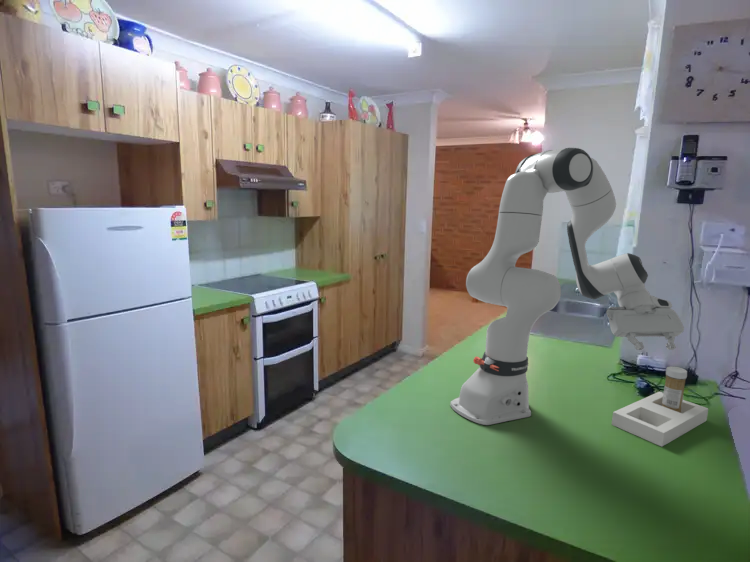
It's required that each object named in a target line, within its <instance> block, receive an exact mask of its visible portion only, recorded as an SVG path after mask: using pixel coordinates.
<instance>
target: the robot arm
mask: <svg viewBox="0 0 750 562" xmlns="http://www.w3.org/2000/svg"><path fill="white" fill-rule="evenodd" d="M559 192H560V193H561V192H564V193H565V195H566V197H567V200H568V203H569V204H570V207H571V218H570V220H569V221H568V222H567V224H566V232H567V238H568V244H569V248H570V252H571V253H570V254H571V257H572V261H573V265H574V270H575V283H576V285H577V286H576V287H577V289H578V291H579V293H580V294H581V295H582V296H583V297H585V298H587V299H590V300H598V299H600V298H602V297H604V296H606V295H608V294H612V293H614V295H615V296H616V298H617V304H618V306H610V307H608V308H607V309H606V311H605V314H606V316H607V318H608V322H609V327H610V330H611V333H612V334H613V336H615V337H617V338H620V337H622V338H623V337H626V339H627V341H628V342H629V343H630V344H631V345H633V346H634V349H635V350H637V351H642V350H643V349H644V348H645V346H644V344H643V341H639V340H638V338H640V337H641V338H643V337H644V338H645V337H647V338H648V337H652V338H653V337H659V338H660V337H664V339H665V340H666V341H667V343H665V344H664V345H665V348H666V350H669V351H670V350H671V351H673V350H675V349H676V348H677V345H676V343H675V338H676V337H678V336H680V335H682V333H683V332H684V330H685V326H684V325H683V321H682V320H681V318H680V317H679V315H678V313H677V312H676V311H675V310H674V309H672V307H673V303H672V302H671V301H670V300H667V299H663V298H660V297H657V296H654V295H651V294H650V292H649V291H648V289H647V288H646V286H645V284H646V281H647V279H648V277H649V274H648V272H647V271H646V269H645V267H644V266H643V261H642V260H641V258H640V257H639V256H638V255H635V254H633V253H629V252H627V253H622V254H620V255H618V256H617V255H616V256H614V257H612V258H610V259H609V258H608V259H606V260H604V261H601V262H598V263H595V264H589V260H588V259H589V258H588V255H587V250H586V243H587V241H588V240H589V239H590V237H591V236H592V235H593V234H594V233H596V232H597V231H598V230H599V229H601V228H602V227H603V226H604V225H606V224H607V222H609V220H610V219H611V218H612V217H613V216H614V213H615V211H616V208H617V201H616V200H617V199H616V198H615V194H614V190H613V188H612V186H611V184H610V181H609V179H608V177H607V175H606V174H605V171H604V170H603V169H602V168H601V166H600V164H599V163H598V161H597V160H596V159H594V158H592V157H591V156H590V155H589V154H588V152H587V151H585V150H584V149H582V148H579V147H567V148H566V147H565V148H563V149H562V148H561V149H549V150H544V151H542V152H538V153H535V154H530V155H528V156H526V157H525V158H523V159H522V160H521V161H520V162H519V164H518V165H517V167H516V169H515V172H514V173H513V174H510V176H508V178H507V179H506V180H505V183H504V187H503V191H502V194H501V198H500V202H499V208H498V216H497V223H496V228H495V235H494V239H493V242H492V246H491V247H490V250H489V251H488V252H487V254H486V256H484V258H483V259H482V260H481V261H479V263H477V264H476V265H474V266H473V267H471V268H470V269H469V271H468V273H467V275H466V279H465V288H466V290H467V293H468V295H469V296H470V297H472V298H473V299H476V300H478V301H481V302H483V303H485V304H491V305H497V306H500V307H506V308H507V309H506V310H507V311H506V315H505V317H501V318H498V319H495V320H494V321H492V322H490V323H489V325H488V326H487V329H486V337H485V351H484V353H483V354H482V357H481V358H480V357H479V356H475V357H474V358H473V363H474V364H475V365H478V366H479V367H478V368H477V369H476V371H474V373H472V375H470V377H469V378H467V380H465V382H463V384H462V385H461V388H460V390H459V391H460V392H459V396H458V397H456V398H454V399H452V400H451V401H450V402H449V403H450V407H451V408H452V410H453V411H455V413H457V414H459V415H460V416H462V417H463V418H465V419H468V420H469V421H471V422H474V423H476V424H479V425H484V426H490V425H494V424H495V425H496V424H499V423H504V422H508V421H509V422H510V421H514V420H519V419H524V418H529V417H532V411H531V409H530V403H529V398H530V397H529V383H528V379H527V372H528V367H529V358H528V347H529V341H530V335H531V331H532V329H533V327H534V325H535V323H536V322H537V320H538V319H539V318H541V317H542V316H543V315H545V314H546V313H548V312H550V311H552V310H553V309H554V308H555V307H556V306H557V304H558V303H559V302H560V299H561V295H562V287H561V283H560V281H559V279H558V277H556V276H555V275H554V274H551V273H548V272H546V271H542V270H540V269H536V268H535V269H534V268H525V267H519V266H516V264H517V261H518V259H519V258H520V257H521V256H522V255H524V254H526V253H527V254H528V253H529V252H531V251H533V250H535V248H537V246H538V244H539V242H540V235H541V230H542V229H541V227H542V220H543V214H544V212H543V211H544V200H545V198H546V196H547V194H548V193H550V194H553V193H559ZM636 337H637V338H636Z"/></svg>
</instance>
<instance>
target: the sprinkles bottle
mask: <svg viewBox="0 0 750 562" xmlns="http://www.w3.org/2000/svg"><path fill="white" fill-rule="evenodd" d="M687 377H688V371H687V370H686V369H685V368H682V367H678V366H672V365H671V366H667V367H666V370H665V382H664V388H663V393H664V394H663V401H662V406H663V407H666V408H669V409H671V410H674V411H677V412H680V413H681V407H682V402H683V400H684V390H685V385H686V379H687Z"/></svg>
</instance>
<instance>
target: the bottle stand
mask: <svg viewBox="0 0 750 562" xmlns="http://www.w3.org/2000/svg"><path fill="white" fill-rule="evenodd" d="M663 394H664V392H662V391H657V392H655V393H653V394H651V395H649V396H646V397H643V398H642V399H639V400H637V401H634V402H632V403H631V404H628V405H626V406H624V407H621V408H619V409H617V410H614V411H613V412H612V419H611V423H610V424H611V425H612V426H614V427H616V428H618V429H620V430H623V431H624V432H625V431H626V432H627V433H630V434H632V435H634V436H637V437H639V438H641V439H643V440H646V441H647V442H650V443H652V444H655V445H656V446H659V447H664V446H666V445H667V444H669V443H671V442H672V441H674V440H676V439H677V438H680V437H681V436H683V435H685V434H686V433H688V432H690V431H691V430H693V429H695V428H697V427H698V426H700V425H701V424H703V423H705V422H706V421H707V420H708V413H709V408H708V407H705V406H702V405H700V404H697V403H694V402H691V401H688V400H685V399H683V402H682V407H681V413H680V412H677V411H674V410H671V409H669V408H666V407H663V406H662V401H663Z"/></svg>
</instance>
